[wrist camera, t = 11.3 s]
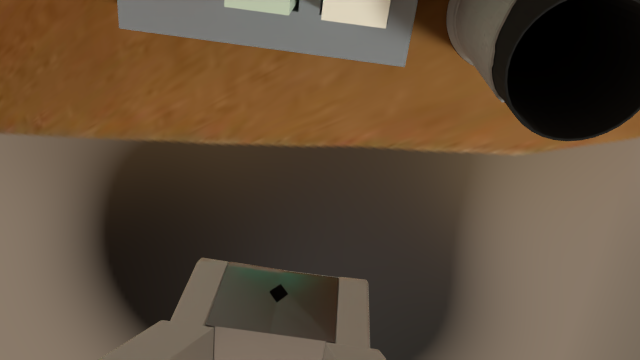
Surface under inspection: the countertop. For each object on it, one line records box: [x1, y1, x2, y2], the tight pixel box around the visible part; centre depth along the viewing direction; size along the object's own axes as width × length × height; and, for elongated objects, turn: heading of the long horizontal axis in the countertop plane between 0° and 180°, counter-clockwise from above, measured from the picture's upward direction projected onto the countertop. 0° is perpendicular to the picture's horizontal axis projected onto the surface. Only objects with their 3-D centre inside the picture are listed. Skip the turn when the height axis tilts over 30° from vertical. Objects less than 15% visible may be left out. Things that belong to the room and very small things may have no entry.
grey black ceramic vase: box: [446, 0, 640, 141], centre depth 31 cm, size 9×14×15 cm, turn 91°
